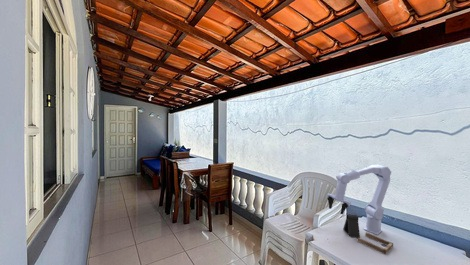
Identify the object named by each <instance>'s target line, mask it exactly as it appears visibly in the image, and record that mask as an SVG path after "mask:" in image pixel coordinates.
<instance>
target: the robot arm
mask: <svg viewBox="0 0 470 265" xmlns="http://www.w3.org/2000/svg"><path fill="white" fill-rule="evenodd" d="M368 174H374V175H375V176H376V177H377V179H378V183H377V185H376V188H375V191H374V194H373V197H372V200H371V201H369V202H368V203H367V204H366V206H365V207H364V212H365V213H366V225H365V227H363V230H365V231H367V232H368V233H371V234H373V235H376V236H377V235H379V234H380V233H382V232H383V229H382V219H383V217H384V210H385V209H384V207H383V203H384V202H383V201H384V199H385V196H386V193H387V191H388V188H389V184H390V182H391V175H392V171H391V168H389V167H387V166H384V165H380V164H377V163H374V164H370V165H369V166H366V167H364V168H361V169H359V170H357V169H351V170H350V171H347V172H346V171H345V172H344V173H343V172H340V173H338V174H337V175H336V187H335V191H334V194H331V193H327V196H326V197H327V203H328V209H329V210H331V209H332V208H333V203H334V201H335V200H336V201H339V202H340V203H341V208H340V213H339V214H340V215H343V214H344V212H345V211H346V209H348V207H349V206H351V204H352V202H351V201H348V200H346V199H345V195H346V190H347V186H348V184H349V183H350V182H352V181H354V180H358V179H359V178H360V177H361V176H364V175H368Z"/></svg>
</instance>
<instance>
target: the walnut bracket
mask: <svg viewBox="0 0 470 265" xmlns="http://www.w3.org/2000/svg"><path fill="white" fill-rule="evenodd" d="M364 235H365V237H367V238H369V239H372V240H374V241H377V242H378V241H379V243H381V244H383V245H385V244H386V245H385V247H384V248H383V247H381V246H379V245H376V244H374V243H373V242H371V241H370V242H369V241H367V240H366V239H363V238H361V237H360V238H357V242H358V243H360V244H362V245H364V246H367V247H369V248H371V249H373V250H376V251H378V252H380V253H382V254H384V255H386V254H387V253H389V251H390V250H392V248H393V247H394V242H391V241H389V240H387V239H384V238H381V237H380V236H377V235H375V234H373V233H370V232H368V231H367V232H365V234H364Z"/></svg>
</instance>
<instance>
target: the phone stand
mask: <svg viewBox="0 0 470 265" xmlns="http://www.w3.org/2000/svg"><path fill="white" fill-rule="evenodd" d="M342 229H343V231H344V232H345V233H346V234H347V235H348V237H350V238H357V239H358V238H361V234H360V226H359V216H358V215H357V214H346V217H345V221H344V225H343V228H342Z"/></svg>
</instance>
